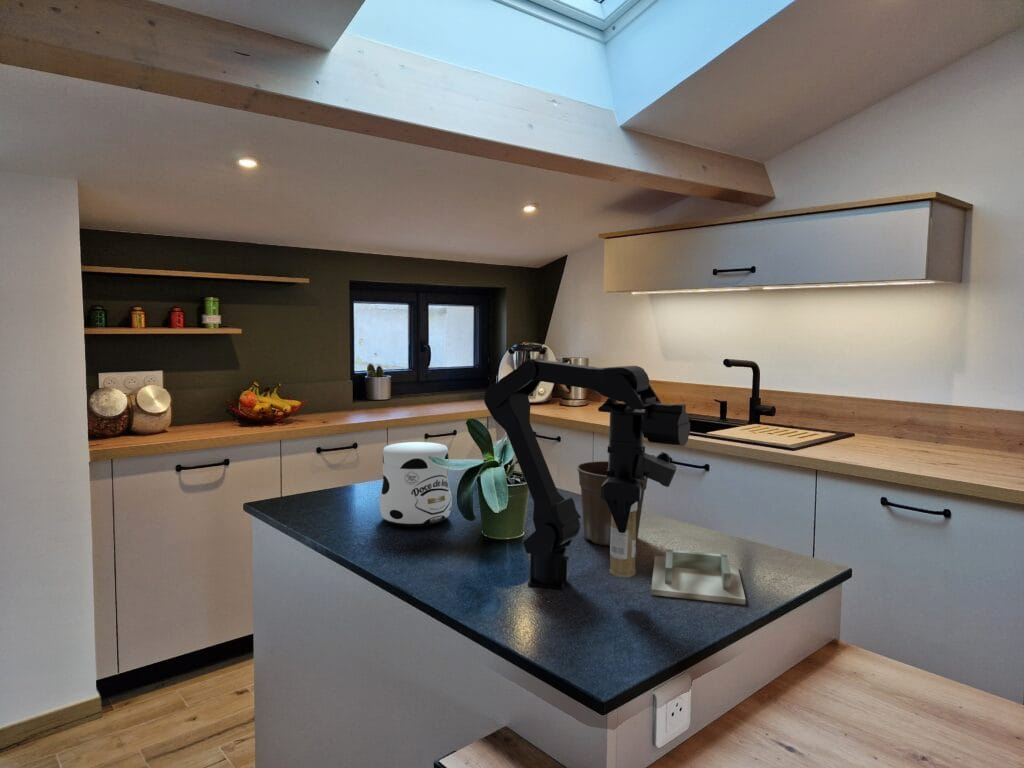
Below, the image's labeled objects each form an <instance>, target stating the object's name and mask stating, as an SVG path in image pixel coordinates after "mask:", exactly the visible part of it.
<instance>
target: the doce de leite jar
mask: <svg viewBox="0 0 1024 768" xmlns="http://www.w3.org/2000/svg"><path fill="white" fill-rule="evenodd" d="M430 455H431V456H435V457H439V458H443V459H448V460H449V449H448V446H447V445H445V444H442V443H437V442H431V441H430V442H428V441H427V442H426V441H410V442H409V441H408V442H407V441H406V442H399V443H398V442H397V443H392V444H388V445H386V446H384V447H383V453H382V487H381V491H380V495H379V498H378V499H379V500H378V501H379V502H378V505H379V506H378V507H379V513H380V515H381V518H382V519H383V520H384V521H385V522H387V523H389V524H392V525H396V526H400V527H411V528H413V527H424V526H432V525H436V524H438V523H439V524H440V523H442V522H443V521H445V520H447V518H449V516H450V514H451V512H452V507H453V506H452V505H453V497H452V493H451V488H450V485H449V468H448V469H447V468H443V467H440V466H437V465H435V464H434V463H433V462H432V461H431V460H430V459H429V458H428V456H430Z"/></svg>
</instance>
